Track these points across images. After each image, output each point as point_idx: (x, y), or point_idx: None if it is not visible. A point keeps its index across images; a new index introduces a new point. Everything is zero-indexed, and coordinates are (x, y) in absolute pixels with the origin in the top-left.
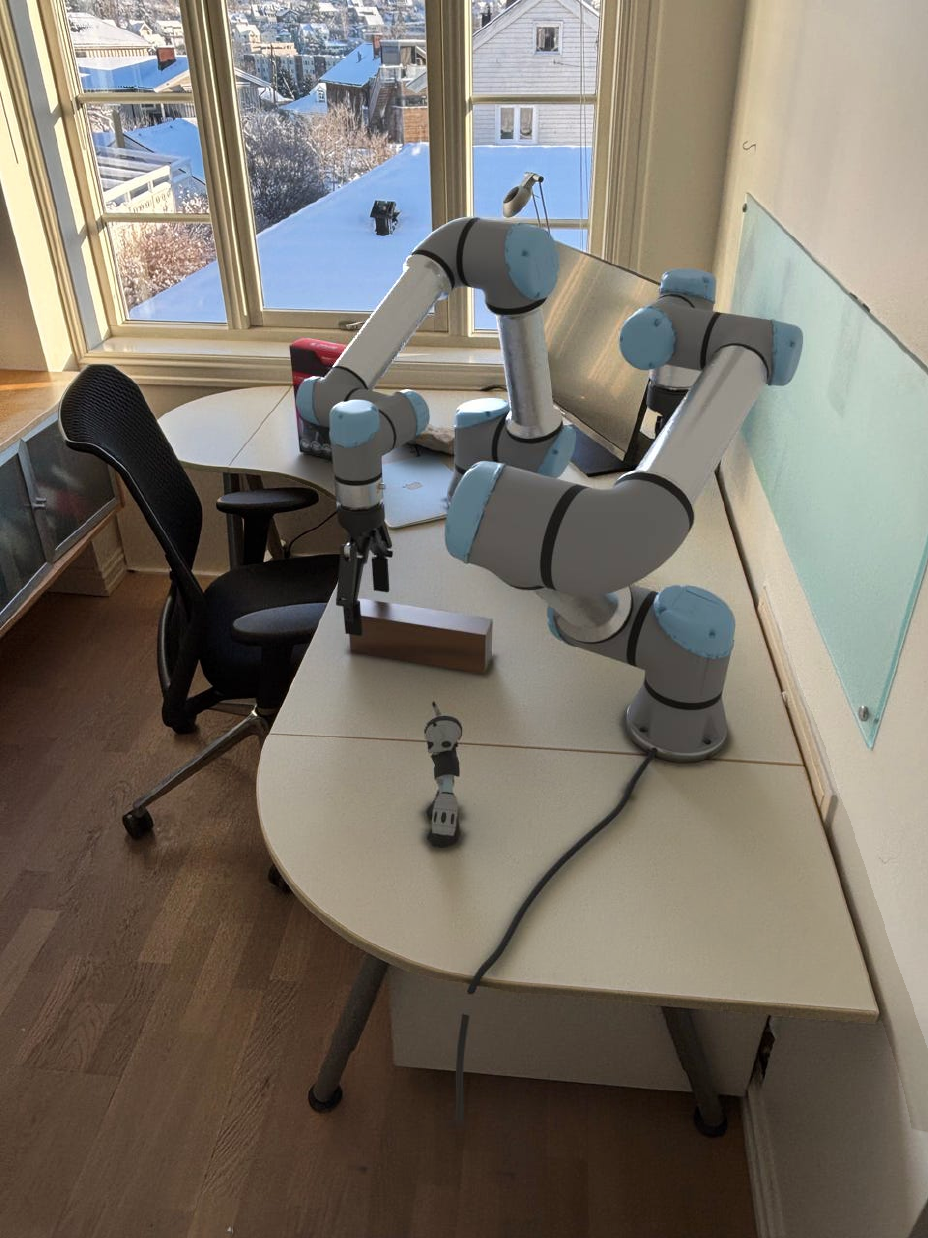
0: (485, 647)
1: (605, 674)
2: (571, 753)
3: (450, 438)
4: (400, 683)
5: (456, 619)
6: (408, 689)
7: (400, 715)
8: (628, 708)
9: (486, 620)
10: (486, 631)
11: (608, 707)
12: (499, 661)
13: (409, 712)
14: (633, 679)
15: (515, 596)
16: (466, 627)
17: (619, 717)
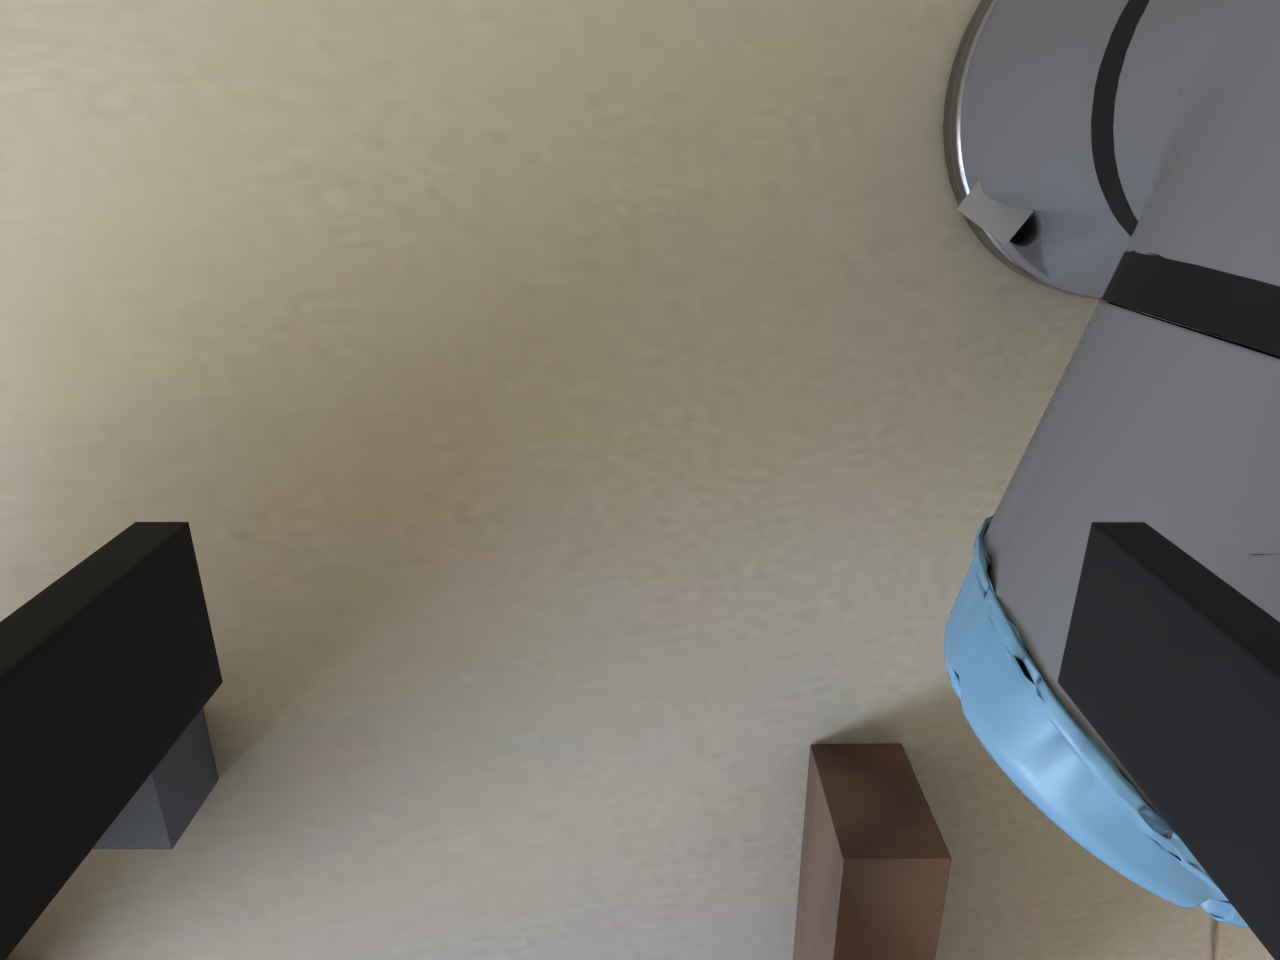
0: (933, 817)
1: (828, 397)
2: None
3: None
4: (980, 916)
5: (872, 950)
6: (1004, 894)
7: (1118, 883)
8: (1099, 298)
9: (859, 873)
10: (930, 860)
11: (1020, 361)
12: (826, 719)
13: (1104, 869)
14: (839, 295)
15: (440, 748)
16: (914, 916)
17: (1072, 317)
